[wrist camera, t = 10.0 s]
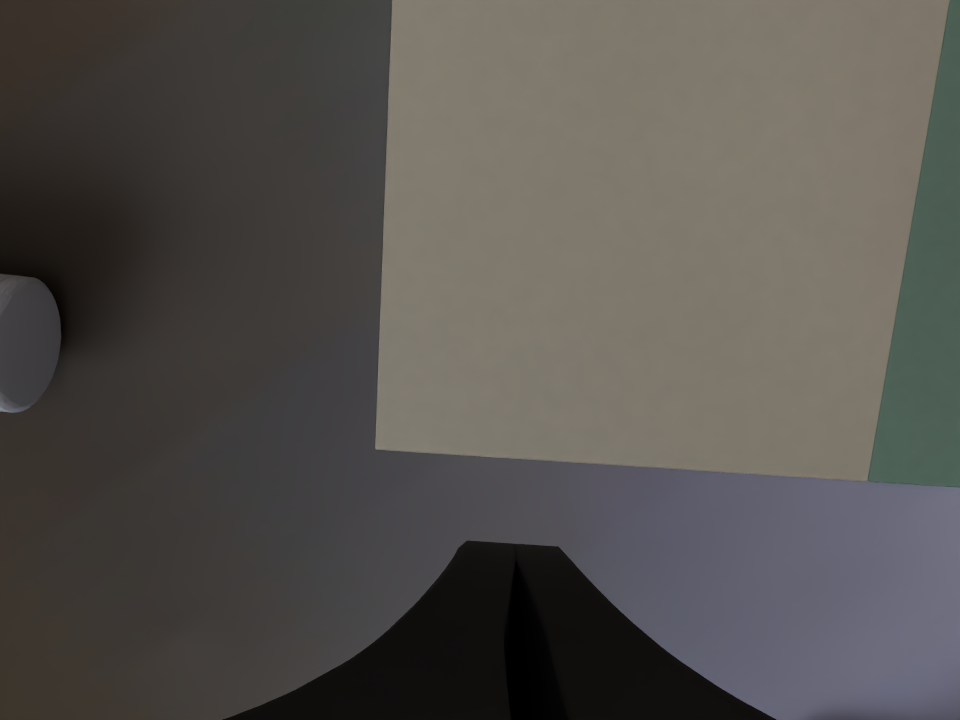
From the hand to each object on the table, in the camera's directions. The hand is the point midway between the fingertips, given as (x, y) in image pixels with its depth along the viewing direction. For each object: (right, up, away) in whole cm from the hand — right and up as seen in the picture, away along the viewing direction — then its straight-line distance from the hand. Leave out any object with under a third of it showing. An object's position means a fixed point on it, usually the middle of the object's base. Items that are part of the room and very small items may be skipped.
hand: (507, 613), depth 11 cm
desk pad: (+9, +7, +8) cm, 14 cm away
